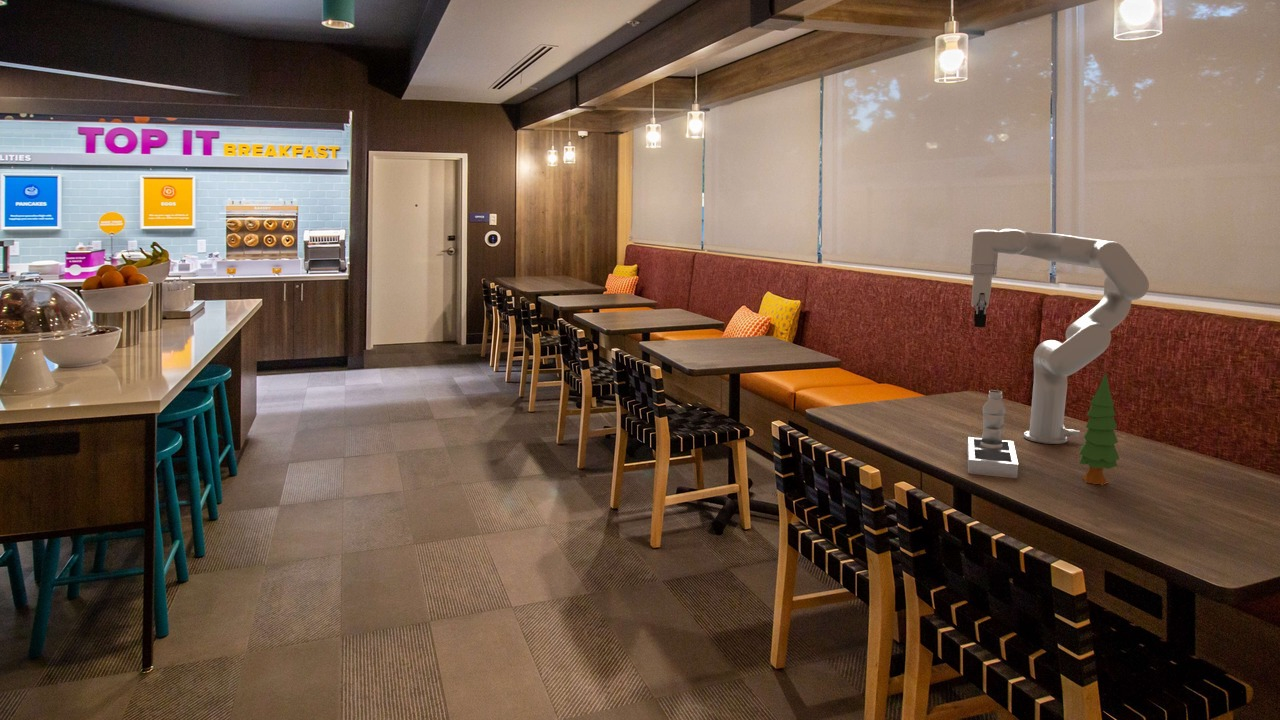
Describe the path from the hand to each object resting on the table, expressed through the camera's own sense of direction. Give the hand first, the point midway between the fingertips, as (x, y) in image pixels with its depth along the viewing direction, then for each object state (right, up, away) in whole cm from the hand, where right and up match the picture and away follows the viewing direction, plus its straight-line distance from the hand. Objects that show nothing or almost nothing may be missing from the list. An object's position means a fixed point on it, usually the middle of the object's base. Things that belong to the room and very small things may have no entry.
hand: (979, 324), depth 262 cm
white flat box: (-5, -41, -21) cm, 46 cm away
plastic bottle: (-3, -40, -16) cm, 43 cm away
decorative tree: (+16, -44, -37) cm, 60 cm away
